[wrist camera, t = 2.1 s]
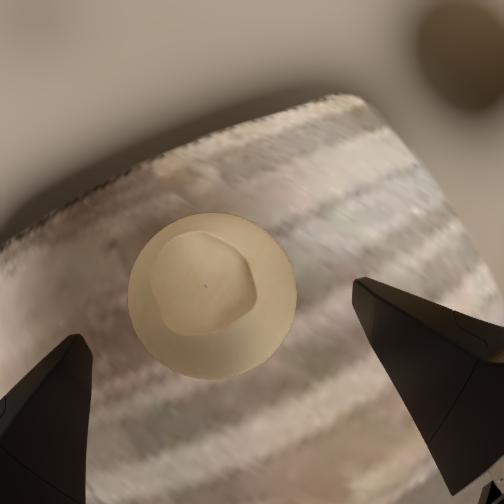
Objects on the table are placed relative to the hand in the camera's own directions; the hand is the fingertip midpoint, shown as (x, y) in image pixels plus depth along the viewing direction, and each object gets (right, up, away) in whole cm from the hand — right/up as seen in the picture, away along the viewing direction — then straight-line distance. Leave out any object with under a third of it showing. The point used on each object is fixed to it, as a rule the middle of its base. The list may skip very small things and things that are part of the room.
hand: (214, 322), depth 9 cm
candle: (0, -2, +9) cm, 9 cm away
